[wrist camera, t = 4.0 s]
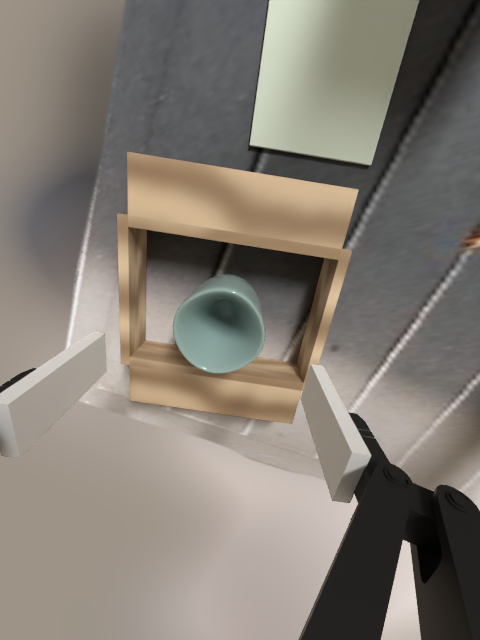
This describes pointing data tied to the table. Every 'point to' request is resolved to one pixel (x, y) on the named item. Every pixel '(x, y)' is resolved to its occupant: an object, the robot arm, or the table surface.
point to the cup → (220, 325)
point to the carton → (239, 228)
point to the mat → (329, 75)
